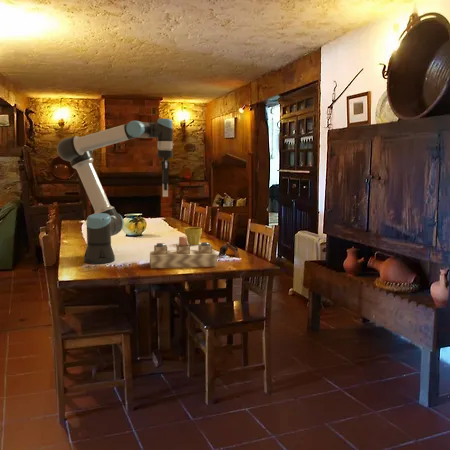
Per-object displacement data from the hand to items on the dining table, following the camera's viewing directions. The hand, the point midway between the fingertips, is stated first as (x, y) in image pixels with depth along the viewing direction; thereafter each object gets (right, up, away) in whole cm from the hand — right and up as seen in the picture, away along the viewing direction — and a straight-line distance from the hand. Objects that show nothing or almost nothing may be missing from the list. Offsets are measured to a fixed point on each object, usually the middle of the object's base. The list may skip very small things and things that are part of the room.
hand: (165, 196), depth 254 cm
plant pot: (+11, -26, +46) cm, 54 cm away
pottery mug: (+32, -31, +15) cm, 47 cm away
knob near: (-1, -28, -11) cm, 30 cm away
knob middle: (+10, -25, -9) cm, 28 cm away
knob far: (+21, -28, -7) cm, 35 cm away
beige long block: (+10, -34, -8) cm, 36 cm away
